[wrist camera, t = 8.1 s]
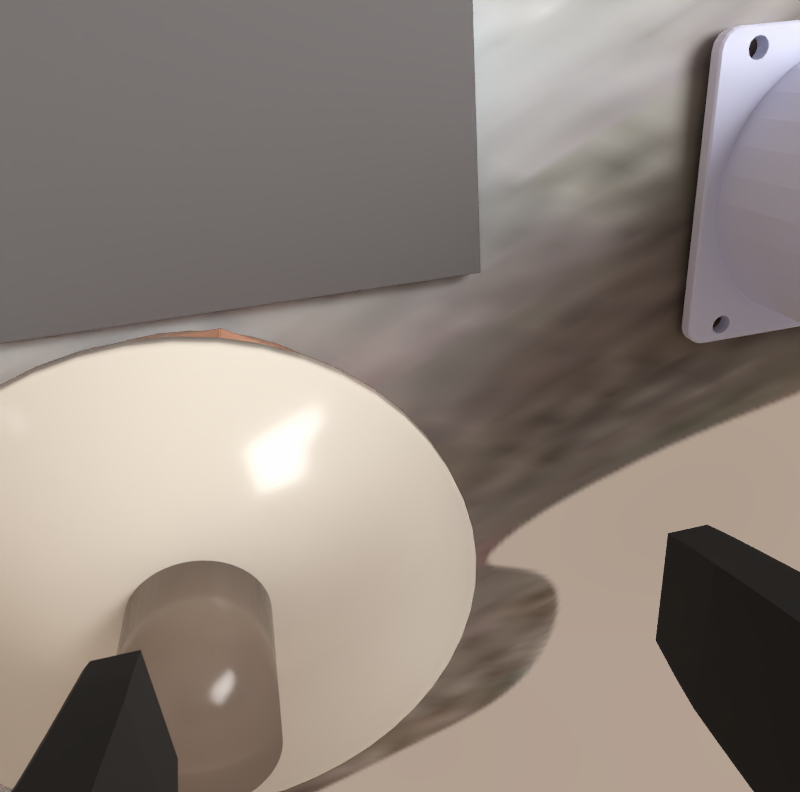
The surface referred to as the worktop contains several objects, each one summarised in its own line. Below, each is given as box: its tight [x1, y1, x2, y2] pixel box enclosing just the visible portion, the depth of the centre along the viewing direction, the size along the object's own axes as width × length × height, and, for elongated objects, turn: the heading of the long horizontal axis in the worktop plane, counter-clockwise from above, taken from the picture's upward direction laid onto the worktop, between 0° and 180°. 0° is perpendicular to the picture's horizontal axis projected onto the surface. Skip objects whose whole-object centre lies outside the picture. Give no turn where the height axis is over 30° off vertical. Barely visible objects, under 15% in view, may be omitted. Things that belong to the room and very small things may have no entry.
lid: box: [0, 336, 476, 792], centre depth 14 cm, size 13×13×4 cm
